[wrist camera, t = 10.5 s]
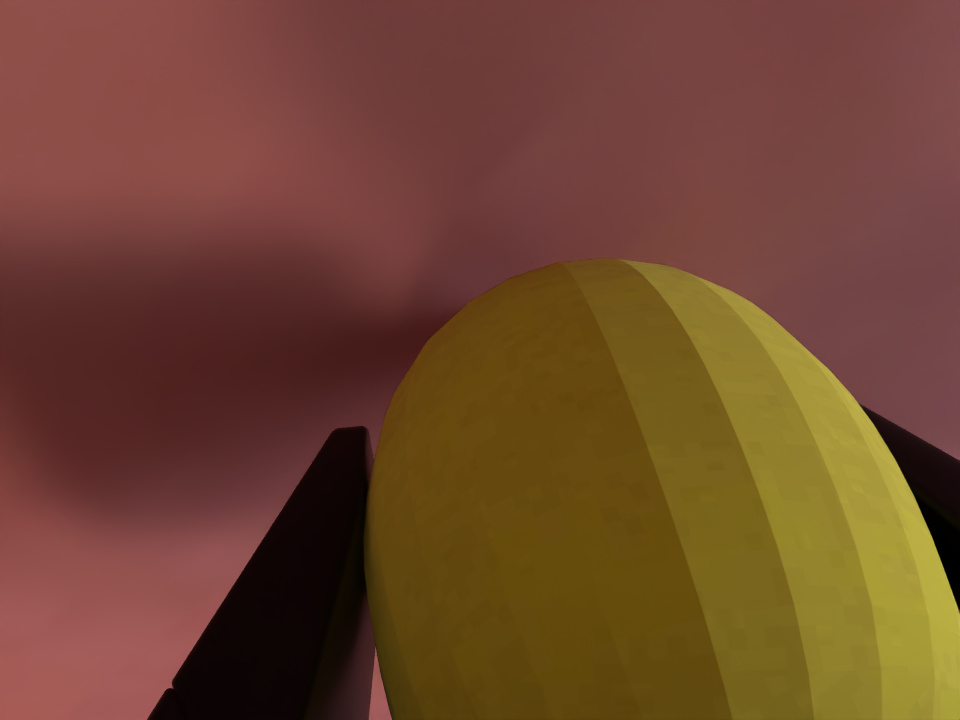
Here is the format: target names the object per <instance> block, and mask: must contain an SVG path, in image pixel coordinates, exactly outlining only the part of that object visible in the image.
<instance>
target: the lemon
mask: <svg viewBox="0 0 960 720" xmlns="http://www.w3.org/2000/svg"><path fill="white" fill-rule="evenodd" d="M363 541H364V569H365V578H366V587H367V596H368V604H369V610H370V616H371V622H372V628H373V634H374V640H375V645H376V651H377V656H378V662H379V667H380V673H381V677H382V681H383V685H384V689H385V693H386V698H387V702H388V706H389V710H390V714H391V717H392V720H960V613H959V610H958V607H957V604H956V601H955V599H954V596H953V593H952V590H951V587H950V585H949V582H948V579H947V576H946V573H945V571H944V568H943V565H942V563H941V560H940V557H939V555H938V552H937V549H936V547H935V544H934V541H933V539H932V536H931V534H930V532H929V529H928V527H927V525H926V522H925V520H924V518H923V516H922V513H921V511H920V509H919V507H918V504H917V502H916V500H915V497H914V495H913V493H912V491H911V489H910V487H909V486H908V484H907V482H906V480H905V478H904V476H903V474H902V472H901V470H900V468H899V466H898V464H897V462H896V460H895V459H894V457H893V455H892V453H891V452H890V450H889V449H888V447H887V445H886V444H885V442H884V441H883V439H882V437H881V436H880V434H879V432H878V431H877V429H876V428H875V426H874V424H873V423H872V422H871V420H870V419H869V417H868V416H867V415H866V413H865V412H864V411H863V409H862V408H861V407H860V405H859V404H858V403H857V401H856V400H855V399H854V397H853V396H852V395H851V394H850V392H849V391H848V390H847V389H846V388H845V387H844V386H843V385H842V383H841V382H840V381H839V380H838V379H837V378H836V377H835V376H834V375H833V373H832V372H831V371H830V370H829V369H828V368H827V367H826V366H824V365H823V364H822V363H821V362H820V361H819V360H818V359H817V358H816V357H815V356H814V355H813V354H811V353H810V352H809V351H808V350H807V349H806V348H805V347H804V346H803V345H802V344H801V343H799V342H798V341H797V340H796V339H795V338H794V337H793V336H792V335H791V334H790V333H788V332H787V331H786V330H785V329H784V328H783V327H782V326H781V325H780V324H779V323H778V322H776V321H775V320H774V319H773V318H772V317H771V316H769V315H768V314H766V313H765V312H764V311H762V310H761V309H760V308H758V307H757V306H756V305H754V304H753V303H752V302H750V301H748V300H746V299H744V298H743V297H741V296H739V295H737V294H736V293H734V292H732V291H730V290H728V289H725V288H723V287H721V286H718V285H716V284H714V283H711V282H709V281H706V280H704V279H702V278H699V277H697V276H694V275H692V274H690V273H687V272H685V271H682V270H679V269H676V268H673V267H670V266H668V265H661V264H653V263H645V262H638V261H630V260H622V259H613V258H599V259H589V260H578V261H568V262H558V263H554V264H551V265H548V266H545V267H542V268H539V269H536V270H533V271H530V272H527V273H524V274H521V275H517V276H514V277H511V278H509V279H508V280H506V281H504V282H502V283H501V284H499V285H497V286H496V287H494V288H492V289H490V290H489V291H487V292H485V293H483V294H482V295H480V296H478V297H477V298H475V299H473V300H471V301H470V302H469V303H468V304H466V305H465V306H464V307H463V308H462V309H461V310H460V311H459V312H458V313H457V314H456V315H455V316H454V317H452V318H451V319H450V320H449V321H448V322H447V323H446V324H445V325H444V326H443V327H442V328H441V329H439V330H438V331H437V332H436V333H435V334H434V335H433V336H432V337H431V338H430V339H429V340H428V341H427V342H426V344H425V345H424V347H423V348H422V350H421V352H420V353H419V355H418V356H417V358H416V360H415V361H414V363H413V364H412V366H411V368H410V369H409V371H408V372H407V374H406V376H405V377H404V379H403V380H402V382H401V384H400V385H399V387H398V388H397V390H396V392H395V393H394V395H393V398H392V400H391V402H390V405H389V407H388V410H387V412H386V415H385V419H384V423H383V426H382V430H381V434H380V438H379V442H378V446H377V450H376V454H375V458H374V463H373V467H372V471H371V475H370V479H369V485H368V491H367V498H366V509H365V524H364V535H363Z"/></svg>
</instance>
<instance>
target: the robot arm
mask: <svg viewBox="0 0 960 720" xmlns="http://www.w3.org/2000/svg"><path fill="white" fill-rule="evenodd" d="M858 404H859V403H858ZM859 405H860V407H861V408H862V409H863V411H864V412H865V413H866V415H867V416H868V417H869V419H870V420H871V422H872V423H873V424H874V426H875V428H876V429H877V431H878V432H879V434H880V436H881V437H882V439H883V441H884V442H885V444H886V445H887V447H888V449H889V450H890V452H891V453H892V455H893V457H894V459H895V460H896V462H897V464H898V466H899V468H900V470H901V472H902V474H903V476H904V478H905V480H906V482H907V484H908V486H909V487H910V489H911V491H912V493H913V495H914V497H915V500H916V502H917V504H918V507H919V509H920V511H921V513H922V516H923V518H924V520H925V522H926V525H927V527H928V529H929V532H930V534H931V536H932V539H933V541H934V544H935V547H936V549H937V552H938V555H939V557H940V560H941V563H942V565H943V568H944V571H945V573H946V576H947V579H948V582H949V585H950V587H951V590H952V593H953V596H954V599H955V601H956V604H957V607H958V610H959V613H960V461H959V460H958V459H956V458H954V457H952V456H951V455H949V454H947V453H945V452H943V451H942V450H940V449H938V448H936V447H935V446H933V445H931V444H929V443H928V442H926V441H924V440H922V439H921V438H919V437H917V436H915V435H914V434H912V433H910V432H908V431H906V430H905V429H903V428H901V427H899V426H898V425H896V424H894V423H892V422H891V421H889V420H887V419H885V418H884V417H882V416H880V415H878V414H877V413H875V412H873V411H871V410H869V409H868V408H866V407H864V406H862V405H861V404H859ZM373 463H374V460H373V454H372V448H371V442H370V436H369V432H368V430H367V428H366V427H364V426H357V427H346V428H337V429H335V430H334V431H332V433H331V434H330V435H329V437H328V439H327V440H326V442H325V443H324V445H323V446H322V448H321V450H320V451H319V453H318V454H317V456H316V457H315V459H314V460H313V462H312V464H311V465H310V467H309V468H308V470H307V471H306V473H305V474H304V476H303V478H302V479H301V481H300V482H299V484H298V485H297V487H296V488H295V490H294V492H293V493H292V495H291V496H290V498H289V499H288V501H287V503H286V504H285V506H284V507H283V509H282V510H281V512H280V513H279V515H278V517H277V518H276V520H275V521H274V523H273V524H272V526H271V527H270V529H269V531H268V532H267V534H266V535H265V537H264V538H263V540H262V541H261V543H260V545H259V546H258V548H257V549H256V551H255V552H254V554H253V556H252V557H251V559H250V560H249V562H248V563H247V565H246V566H245V568H244V570H243V571H242V573H241V574H240V576H239V577H238V579H237V580H236V582H235V584H234V585H233V587H232V588H231V590H230V591H229V593H228V595H227V596H226V598H225V599H224V601H223V602H222V604H221V605H220V607H219V609H218V610H217V612H216V613H215V615H214V616H213V618H212V619H211V621H210V623H209V624H208V626H207V627H206V629H205V630H204V632H203V633H202V635H201V637H200V638H199V640H198V641H197V643H196V644H195V646H194V648H193V649H192V651H191V652H190V654H189V655H188V657H187V658H186V660H185V662H184V663H183V665H182V666H181V668H180V669H179V671H178V672H177V674H176V676H175V677H174V679H173V681H172V686H173V688H174V689H173V688H168V689H167V690H166V691H165V692H164V694H163V695H162V697H161V698H160V700H159V701H158V703H157V705H156V706H155V708H154V709H153V711H152V712H151V714H150V716H149V717H148V719H147V720H369V710H370V700H371V689H372V678H373V667H374V657H375V646H376V645H375V640H374V634H373V628H372V622H371V616H370V610H369V604H368V596H367V587H366V578H365V569H364V541H363V535H364V524H365V509H366V498H367V491H368V485H369V479H370V475H371V471H372V467H373Z"/></svg>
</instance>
